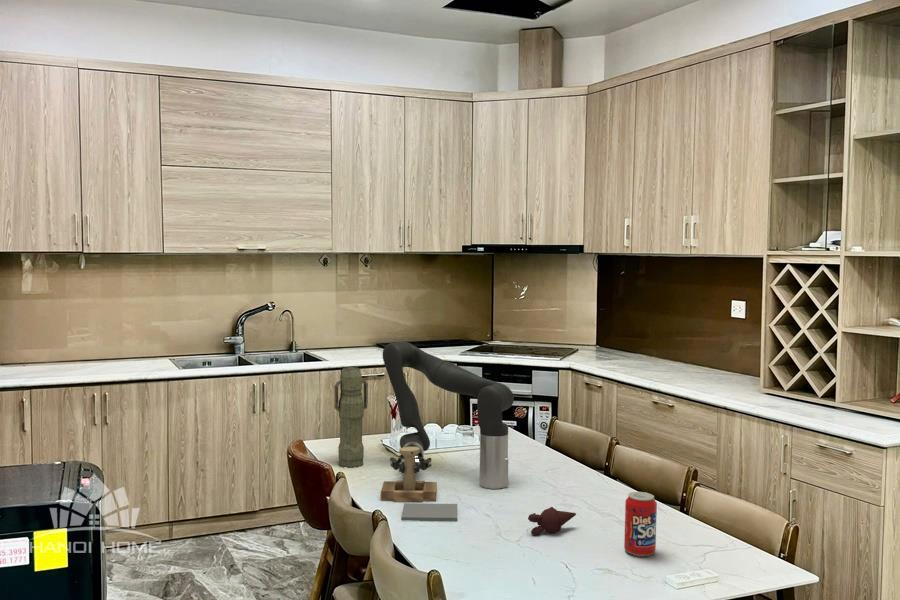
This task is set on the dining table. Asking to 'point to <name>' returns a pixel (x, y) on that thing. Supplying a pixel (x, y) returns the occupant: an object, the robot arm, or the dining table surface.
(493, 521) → the dining table surface
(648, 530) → the soda can
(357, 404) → the thermos
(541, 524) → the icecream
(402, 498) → the collar
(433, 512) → the mat
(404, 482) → the handle
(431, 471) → the dining table surface
